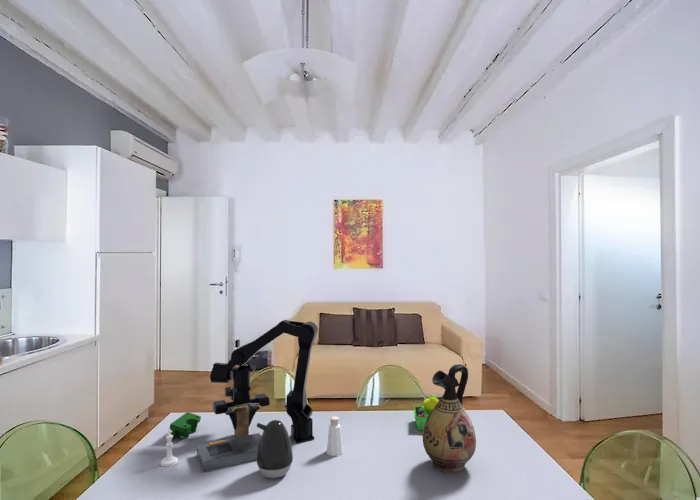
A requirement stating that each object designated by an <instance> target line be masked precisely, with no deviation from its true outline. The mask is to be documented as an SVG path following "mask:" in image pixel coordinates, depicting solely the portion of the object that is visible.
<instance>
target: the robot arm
mask: <svg viewBox="0 0 700 500" xmlns="http://www.w3.org/2000/svg"><path fill="white" fill-rule="evenodd" d="M318 331H319V329H318V326H317V324H316V323H315V322H312V321H306V322H303V321H296V320H295V321H294V320H288V319H283V320H281V321H279V322H278V324H276V325H275V326H273V327H272V328H270V329H269V330H267V331H266V332H264V334H262V335H260V336H259V337H257V338H256V339H254V340H253V341H250V342H248V343H245V344H243V345H241V346H240V347H238V348H236V349H234V350H233V351H231V355H230V359H229V360H228V362H227V363H223V362H215V363H213V365H212V369H211V371H210V375H209V376H210V378H209V379H210V382H211V383H213V384H229V383H230V382H231V381H232V387H231V386H228V387H224V397H225V398H230V400H231V401H229V402H226V400H225V399H221V400H216V401H215V400H214V401H213V403H212V412H213V413H214V414H215V415H221V414H222V415H223V414H225V416H229V419H230V421H231V424H232V428H233V430H236V417H235V411H234V409H235V408H241V407H247V409H248V410H249V427H250V426H251V424H252V421H253V419H254V417H255V415H256V414H257V412H258V410H260V409H261V408H262V407H263V408H264V407H267V406H270V403H271V401H270V400H271V399H270V398H269V396H268V395H266V394H265V393H259V394H254V397H253V398H251V389H252V388H251V373H252V372H254V371H255V370H256V369H257V367H256V366H255V365H253V363H252V362H249V361H250V360H251V359H252V358H253V357H255V355H256V354H257V353H258V352H259V351H260V350H261V349H263V348H264V347H265V346H267V345H268V344H270V343H271V342H273V341H274V340H276V339H277V338H278V337H281V336H282V335H283V334H287V335H290V336H293V337H297V343H298V355H297V361H296V363H297V364H296V367H295V368H296V370H295V377H294V382H293V389H291V390H289V392H288V393H287V395H286V397H285V398H286V403H285V406H284V408H285V409H286V414H287V415H288V416H289V417H290V419H291V421H292V422H291V423H292V424H291V425H290V437H291V438H292V439H293V440H294V442H295V443H303V442H306V441H307V442H308V441H311V440H315V436H314V435H313V427H314V425H313V423H314V421H313V420H314V419H313V418H312V417H311V416H312V415H313V412H314V409H313V408H312V407H311V406H310V405H309V404H308V403H307V402H308V399H307V391H306V388H307V387H306V386H307V380H308V373H309V366H310V359H311V353H312V349H313V345H314V343H315V341H316V337H317V334H318ZM247 362H249V363H248V365H246V363H247ZM236 366H237V367H236Z"/></svg>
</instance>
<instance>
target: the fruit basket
mask: <svg viewBox="0 0 700 500" xmlns="http://www.w3.org/2000/svg"><path fill="white" fill-rule="evenodd" d="M438 402H439V399H438V396H437V395H435V394H431V395H430V396H429V397H428V398H426V399H425V400H423V402H422V406H421V405H419V406H416V405H415V406H414V407H413V415H414V419H415V423H416V426H417V427H416V428H417V430H418V431H424V426H425V423H426V420H427V418H428V416H429V414H430V413H431V411H432V410H433V408H434V407H435V405H436V404H437V403H438Z"/></svg>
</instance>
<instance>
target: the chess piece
mask: <svg viewBox="0 0 700 500" xmlns="http://www.w3.org/2000/svg"><path fill="white" fill-rule="evenodd" d="M171 432H172V430H171V429H169V428H168V431H167V432H166V436H165V439H166V443H165V446H166V447H167V449H166V456H165V457H164V458H162V459H161V461H160V466H161V467H165V468H167V467H172V466H175V465H177V464H178V463H179V458H178V457H177V456H174V455H173V451H172V446H173V445H174V442H172V441H173V440H172V438H173V435H171Z"/></svg>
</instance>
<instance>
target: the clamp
mask: <svg viewBox="0 0 700 500" xmlns="http://www.w3.org/2000/svg"><path fill="white" fill-rule="evenodd" d="M201 418H202V417H201V415H198V414H195V413H192V412H189V411H187V412H185V413H184V414H182V415H181V416H180V417H178V418H177V419H175V420H174V421H173V422H170V423H169V424H170V425H169V428H168V430H169V429H171V430H172V432H171V435H173V438H172V441H175V440H176V439H177V438H179V437H180V438H183V439H189V437H190V433H191V432H192V433H196V432H197V428H198V424H199V423H200V422H201V420H202V419H201Z"/></svg>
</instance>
